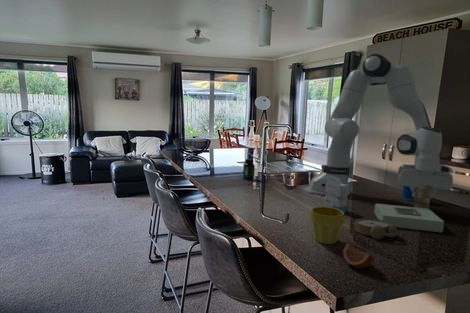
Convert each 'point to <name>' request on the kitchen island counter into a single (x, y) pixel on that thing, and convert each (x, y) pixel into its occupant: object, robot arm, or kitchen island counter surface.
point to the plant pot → (326, 223)
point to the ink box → (336, 194)
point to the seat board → (409, 217)
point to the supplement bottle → (248, 170)
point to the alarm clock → (375, 228)
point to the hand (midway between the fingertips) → (422, 197)
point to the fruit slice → (356, 256)
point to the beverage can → (407, 193)
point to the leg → (422, 196)
